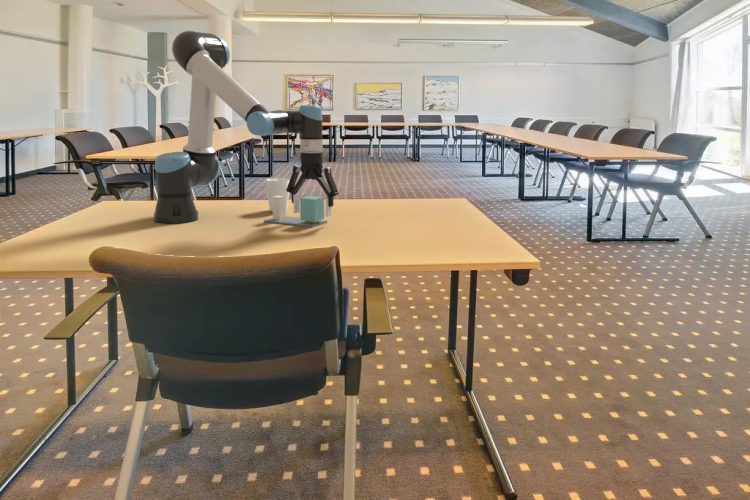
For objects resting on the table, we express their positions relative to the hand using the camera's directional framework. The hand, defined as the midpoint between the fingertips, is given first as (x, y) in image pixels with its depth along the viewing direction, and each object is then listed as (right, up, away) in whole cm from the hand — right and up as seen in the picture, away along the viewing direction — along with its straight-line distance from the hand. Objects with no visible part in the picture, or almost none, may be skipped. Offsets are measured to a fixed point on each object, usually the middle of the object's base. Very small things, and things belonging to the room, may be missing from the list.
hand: (312, 214), depth 219 cm
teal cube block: (0, -2, 0) cm, 2 cm away
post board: (-6, -3, +4) cm, 8 cm away
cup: (-16, +3, +25) cm, 30 cm away
